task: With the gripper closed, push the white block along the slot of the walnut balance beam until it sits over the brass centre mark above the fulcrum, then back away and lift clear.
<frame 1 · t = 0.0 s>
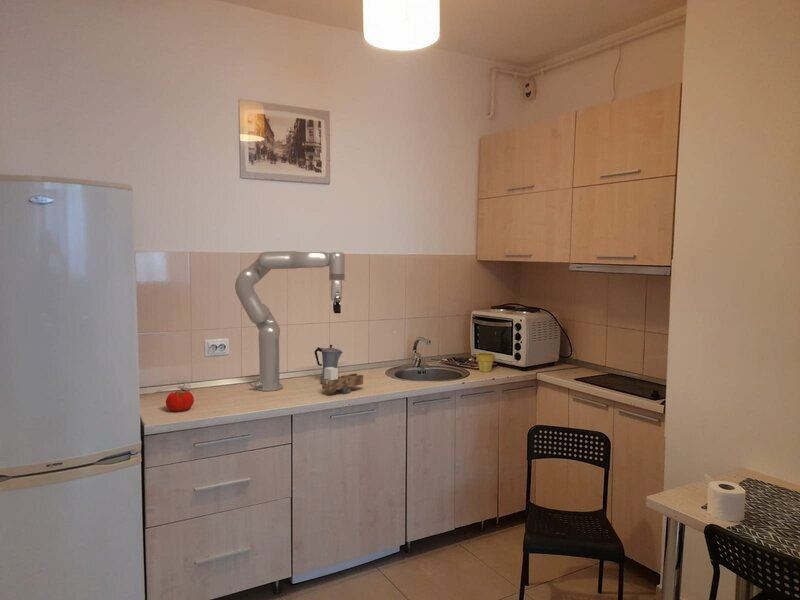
hand: (336, 312, 269), 37 cm above the countertop, fingers open, 9 cm apart
tomato: (180, 410, 229), on the countertop
moka pot: (328, 383, 279), on the countertop
beam: (342, 392, 261), on the countertop
white block: (331, 376, 255), point 9 cm above the countertop, slide at 0.0 cm
plant pot: (485, 371, 314), on the countertop
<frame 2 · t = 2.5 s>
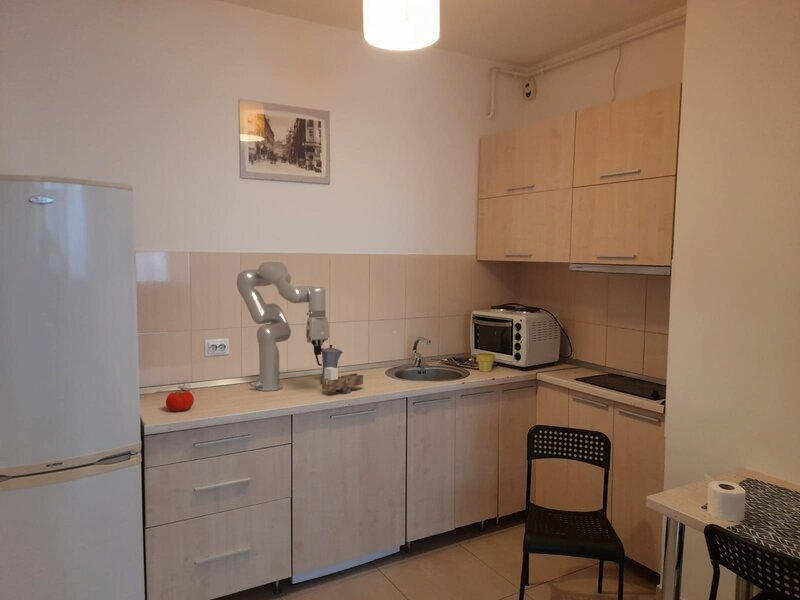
hand: (317, 354, 248), 20 cm above the countertop, fingers closed
nothing on the countertop moved.
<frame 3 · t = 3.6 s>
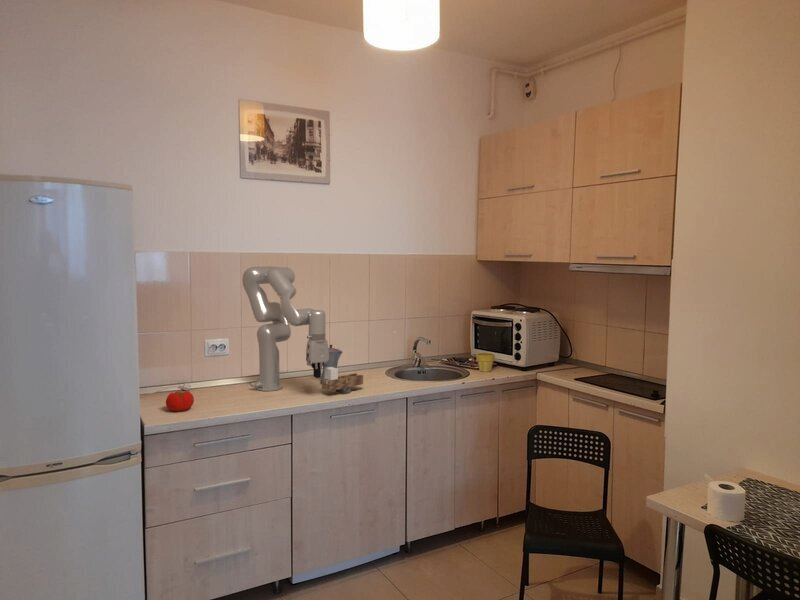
hand: (317, 377, 250), 10 cm above the countertop, fingers closed
nothing on the countertop moved.
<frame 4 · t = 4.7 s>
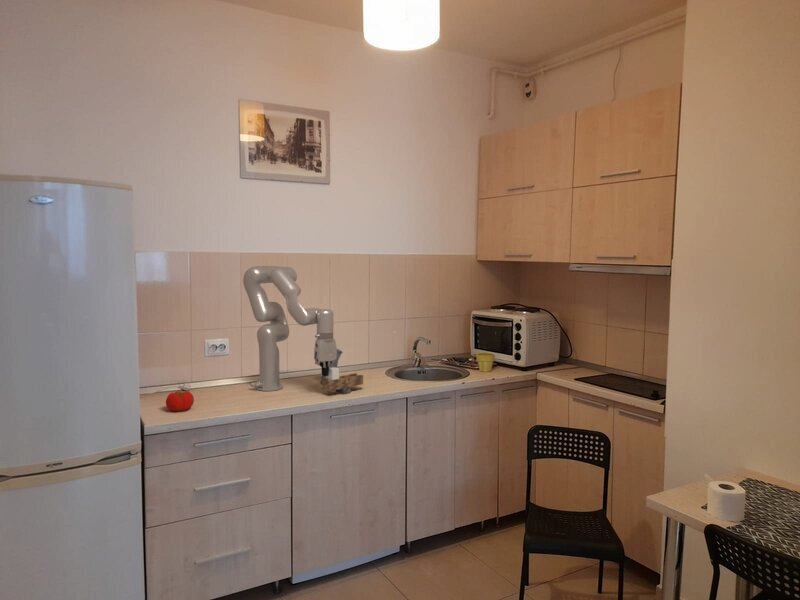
hand: (325, 375, 253), 10 cm above the countertop, fingers closed
white block: (332, 375, 256), point 9 cm above the countertop, slide at 0.8 cm, touching gripper
everything else where it was.
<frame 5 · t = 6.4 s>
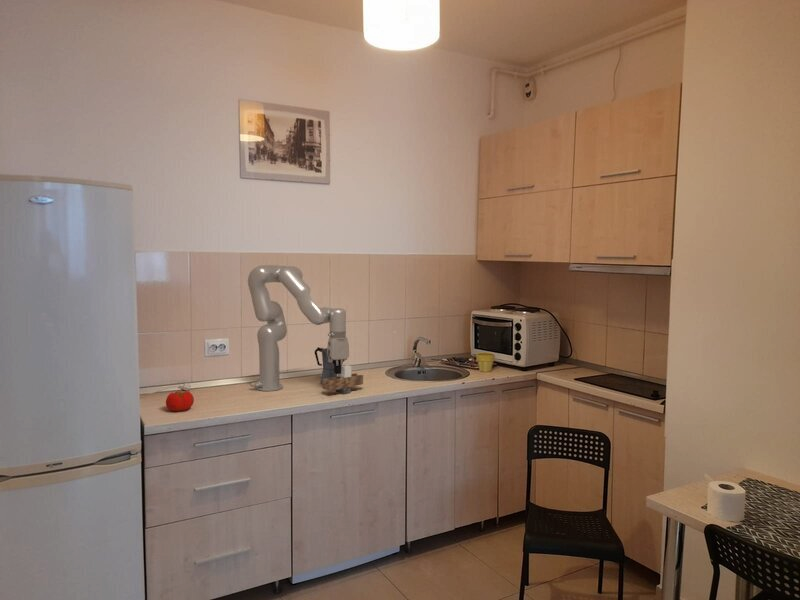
hand: (337, 373, 258), 10 cm above the countertop, fingers closed
white block: (344, 373, 261), point 9 cm above the countertop, slide at 8.0 cm, touching gripper
everything else where it was.
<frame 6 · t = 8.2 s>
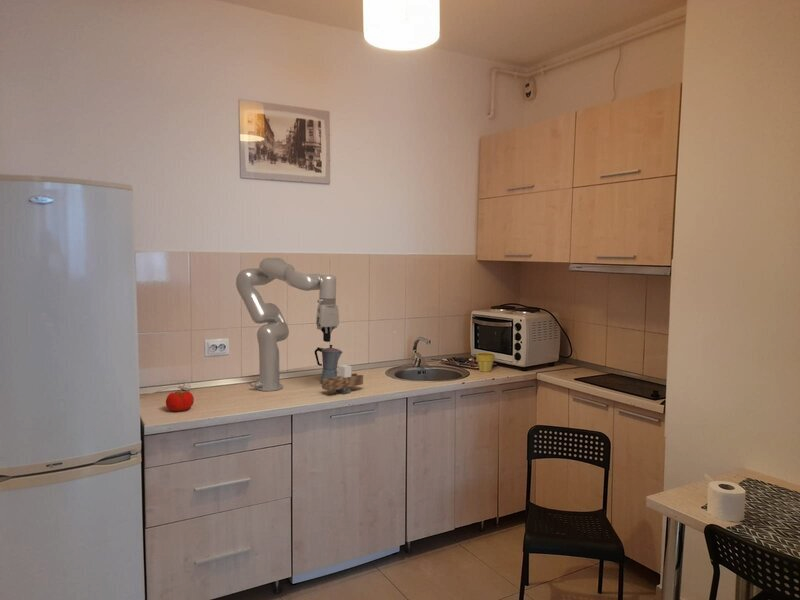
hand: (326, 341, 253), 26 cm above the countertop, fingers closed
white block: (344, 373, 261), point 9 cm above the countertop, slide at 8.0 cm
everything else where it was.
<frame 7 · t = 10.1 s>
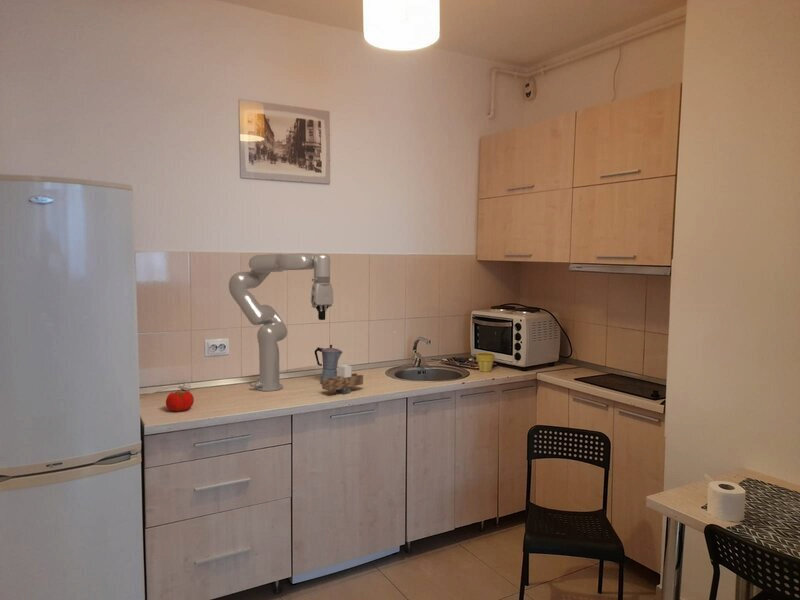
hand: (321, 319, 257), 35 cm above the countertop, fingers closed
nothing on the countertop moved.
at the end: white block slide at 8.0 cm; white block touching nothing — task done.
